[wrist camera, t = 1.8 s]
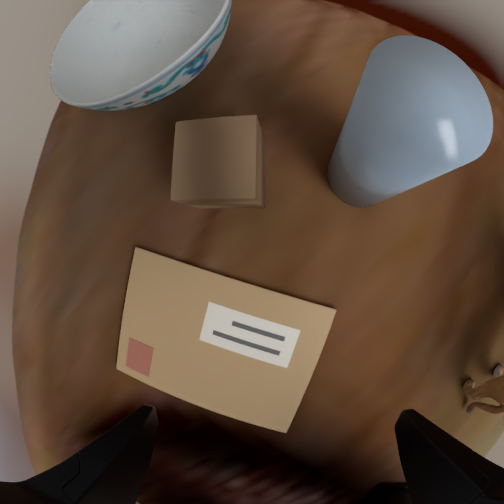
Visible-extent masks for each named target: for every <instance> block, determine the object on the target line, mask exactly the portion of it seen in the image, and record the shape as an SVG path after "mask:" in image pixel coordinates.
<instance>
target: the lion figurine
mask: <svg viewBox="0 0 504 504" xmlns="http://www.w3.org/2000/svg"><path fill="white" fill-rule="evenodd" d="M502 372H503V367H502V366H501V365H499V366H497V367H496V368H495V370H494V373H493V379H490V380H489V381H487V382H485V383H484V384H482V385H481V386H479V387H477V388H475V389H473V387H474V385H475V384H474V380H468V381H466V382H465V384H464V386H463V391H464V393H465V394H466V395H467V396H469V397H471V398H472V399H474V400H477V399H480V398H482V397H490V398H493V399H494V400H496V401H497V402H499V403H500V406H494V405H489V404H485V403H481V402H474V403H471V404H470V405H469V406H468V407H467V410H466V412H467V413H470V412H471V411H472V410H473V409H474V408H475V407H478V408H480V409H482V410H485V411H487V412H490V413H493V414H504V375H503V376H500V375H501V374H502Z"/></svg>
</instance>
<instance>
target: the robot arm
mask: <svg viewBox="0 0 504 504" xmlns="http://www.w3.org/2000/svg"><path fill="white" fill-rule="evenodd" d="M157 428H158V418H157V413H156V409H155V407H154V406H151V405H146V404H144V405H142V406H140V407H139V408H138V409H136V410H135V411H134V412H132V413H131V414H130V415H128V416H127V417H126V418H124V419H123V420H122V421H120V422H119V423H118V424H116V425H115V426H113V427H112V428H111V429H109V430H108V431H107V432H105V433H104V434H103V435H101V436H100V437H98V438H97V439H96V440H94V441H93V442H91V443H90V444H88V445H87V446H86V447H84V448H83V449H81V450H80V451H79V452H78V453H75V454H74V455H73V456H71V457H70V458H68V459H66V460H65V461H63V462H62V463H60V464H58V465H56V466H54V467H52V468H51V469H49V470H47V471H44V472H42V473H40V474H38V475H36V476H34V477H32V478H30V479H27V480H25V481H22V482H1V481H0V504H135V503H136V500H137V497H138V494H139V491H140V489H141V486H142V483H143V480H144V477H145V474H146V472H147V469H148V466H149V463H150V460H151V456H152V451H153V447H154V442H155V437H156V433H157ZM395 433H396V439H397V444H398V450H399V456H400V461H401V465H402V468H403V472H404V476H405V479H406V483H407V484H378V485H377V486H376V487H375V488H374V489H373V491H372V492H371V493H370V494H369V495H368V496H367V498H366V499H365V500H364V501H363V502H362V503H361V504H504V468H502V467H500V466H498V465H496V464H495V463H493V462H491V461H489V460H487V459H486V458H484V457H482V456H481V455H479V454H478V453H476V452H475V451H473V450H472V449H470V448H469V447H467V446H466V445H464V444H463V443H461V442H460V441H458V440H457V439H455V438H454V437H452V436H451V435H449V434H448V433H447V432H445V431H444V430H442V429H441V428H439V427H438V426H436V425H435V424H434V423H432V422H431V421H429V420H428V419H426V418H425V417H424V416H422V415H421V414H419V413H418V412H417V411H415V410H414V409H407V410H403V411H402V412H401V414H400V416H399V418H398V420H397V422H396V424H395Z"/></svg>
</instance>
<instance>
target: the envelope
mask: <svg viewBox="0 0 504 504" xmlns="http://www.w3.org/2000/svg"><path fill="white" fill-rule="evenodd" d="M335 313H336V309H334V308H331V307H327V306H324V305H320V304H317V303H313V302H310V301H306V300H303V299H299V298H296V297H293V296H289V295H286V294H282V293H279V292H276V291H272V290H269V289H266V288H263V287H259V286H256V285H253V284H250V283H246V282H243V281H240V280H237V279H233V278H230V277H227V276H224V275H221V274H218V273H214V272H211V271H208V270H205V269H202V268H199V267H196V266H193V265H190V264H187V263H184V262H181V261H178V260H175V259H172V258H169V257H166V256H163V255H160V254H157V253H154V252H151V251H148V250H145V249H142V248H139V247H135V252H134V257H133V261H132V266H131V271H130V277H129V282H128V287H127V293H126V299H125V305H124V311H123V318H122V325H121V332H120V340H119V348H118V357H117V367H116V369H118V370H120V371H122V372H123V373H125V374H127V375H129V376H131V377H133V378H135V379H137V380H140V381H142V382H144V383H146V384H148V385H150V386H152V387H154V388H157V389H159V390H161V391H163V392H166V393H168V394H170V395H173V396H175V397H177V398H180V399H182V400H185V401H187V402H190V403H192V404H195V405H198V406H200V407H203V408H206V409H208V410H211V411H214V412H217V413H220V414H222V415H225V416H228V417H231V418H234V419H238V420H241V421H244V422H247V423H251V424H254V425H257V426H261V427H265V428H268V429H272V430H276V431H280V432H284V433H286V432H287V430H288V428H289V426H290V424H291V422H292V420H293V418H294V415H295V413H296V411H297V409H298V407H299V404H300V402H301V400H302V398H303V395H304V393H305V391H306V388H307V386H308V384H309V381H310V379H311V376H312V374H313V372H314V369H315V367H316V364H317V362H318V359H319V357H320V354H321V351H322V349H323V346H324V344H325V341H326V338H327V335H328V333H329V330H330V327H331V324H332V322H333V319H334V316H335Z"/></svg>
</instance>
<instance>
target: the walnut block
mask: <svg viewBox="0 0 504 504" xmlns="http://www.w3.org/2000/svg"><path fill="white" fill-rule="evenodd" d="M265 157H266V141H265V138H264V135H263V132H262V129H261V126H260V124H259V121H258V118H257V115H243V116H227V117H215V118H204V119H195V120H186V121H178V122H176V126H175V137H174V149H173V163H172V180H171V201H174V202H178V203H181V204H185V205H188V206H191V207H195V208H265Z"/></svg>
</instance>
